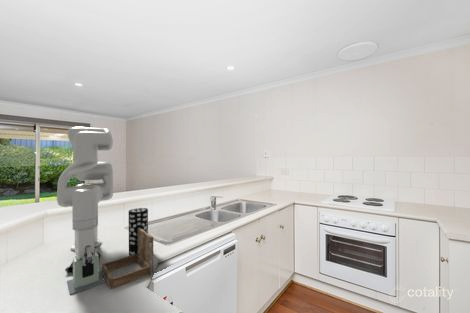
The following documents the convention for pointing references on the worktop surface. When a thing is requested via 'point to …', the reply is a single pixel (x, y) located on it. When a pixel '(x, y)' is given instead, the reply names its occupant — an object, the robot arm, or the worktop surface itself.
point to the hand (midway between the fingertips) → (85, 270)
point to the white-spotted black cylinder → (136, 227)
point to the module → (77, 271)
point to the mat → (84, 287)
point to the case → (142, 258)
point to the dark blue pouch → (70, 268)
